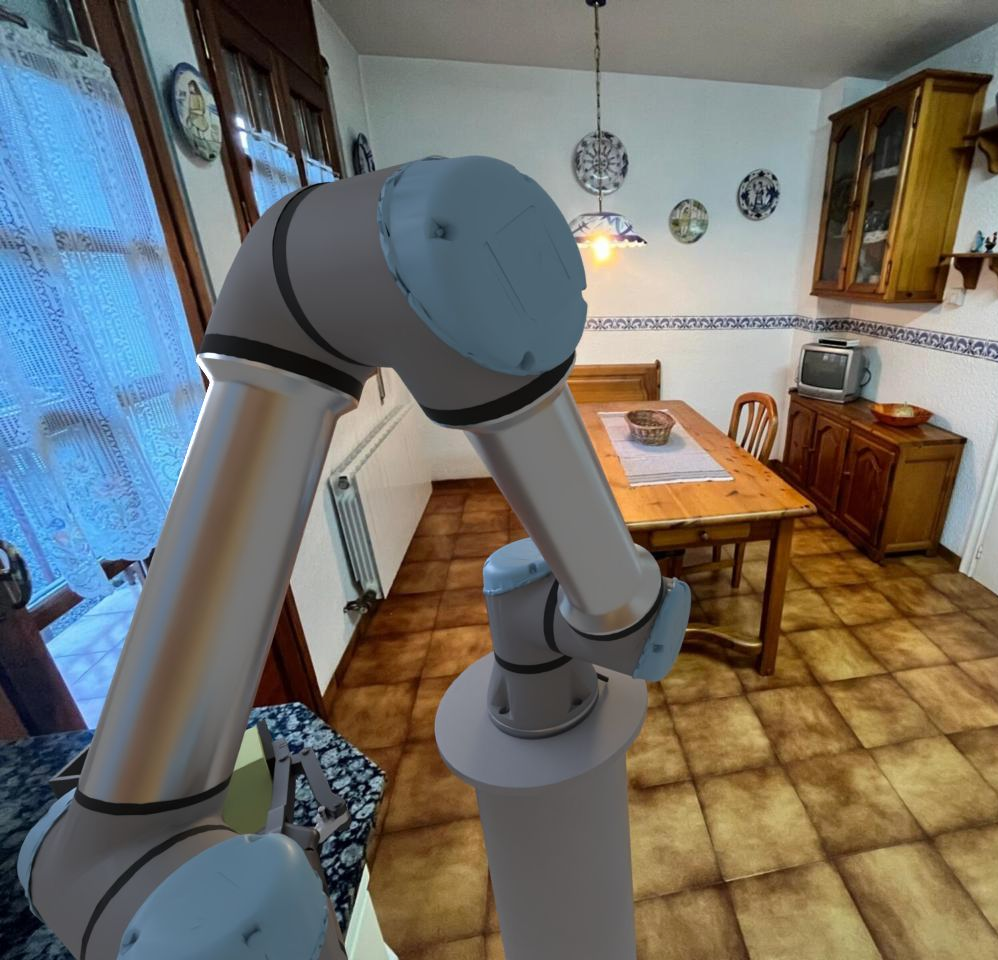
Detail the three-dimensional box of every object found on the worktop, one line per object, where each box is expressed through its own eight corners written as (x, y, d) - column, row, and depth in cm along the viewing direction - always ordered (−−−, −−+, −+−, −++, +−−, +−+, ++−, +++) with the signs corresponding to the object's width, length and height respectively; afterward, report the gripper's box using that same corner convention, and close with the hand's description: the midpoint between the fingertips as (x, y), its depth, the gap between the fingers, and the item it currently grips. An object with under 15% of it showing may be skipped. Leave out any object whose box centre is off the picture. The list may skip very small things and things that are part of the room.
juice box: (279, 792, 55) (241, 684, 50) (288, 827, 51) (247, 713, 46) (233, 817, 52) (187, 705, 47) (238, 855, 48) (190, 738, 44)
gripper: (127, 1082, 33) (138, 823, 49) (405, 885, 43) (336, 727, 60) (81, 1010, 30) (109, 763, 47) (387, 820, 41) (321, 674, 57)
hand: (237, 743), depth 53 cm, fingers closed on juice box, 4 cm apart
